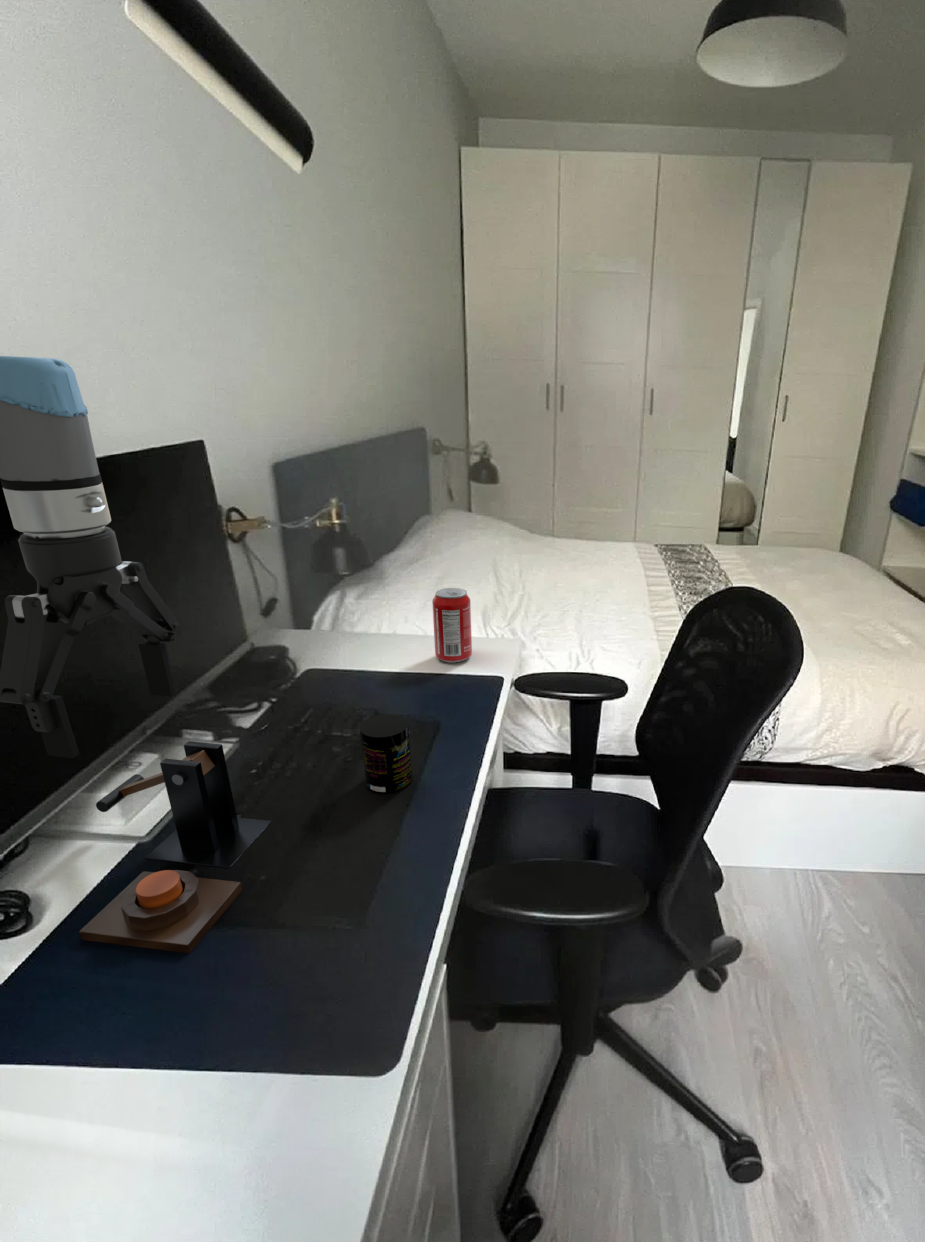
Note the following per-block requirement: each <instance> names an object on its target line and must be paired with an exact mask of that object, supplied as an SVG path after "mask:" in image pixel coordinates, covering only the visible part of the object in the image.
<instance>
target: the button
mask: <svg viewBox="0 0 925 1242" xmlns="http://www.w3.org/2000/svg"><path fill="white" fill-rule="evenodd" d="M172 870H173V869H164V870H159V871H154V872H155V873H153V874H151V875H149V876H147V877H145V878H144V879H142V880H141V881H140V882H139V883H138V885H137V887H136V894H137V898H138V901H139V904H140V906H141V907H143V908H145V909H154V908H158V907H162V906H165V905H167V904H169V903H171V902H172V901H174V900H176V899H177V898H178V897H179V896H180V895H181V893H182V890H183V888H182V884H181V880H180V876H179V874H178V873H177V872H175V871H172Z"/></svg>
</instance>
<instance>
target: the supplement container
mask: <svg viewBox="0 0 925 1242" xmlns="http://www.w3.org/2000/svg"><path fill="white" fill-rule="evenodd" d="M359 734H360V735H359V737H360V738H359V739H360V742H361V743H360V744H361V751H362V762H363V770H364V779H365V786H366V788H367V790H368V791H369V792H371V793H374V794H379V795H388V794H389V795H390V794H395V793H399V792H401V791H403V790H405V789H407V788H408V787H410V785H411V784H412V782H413V781H414V780H413V766H412V765H413V764H412V753H411V751H412V750H411V738H410V734H411V733H410V723H409V720H408V719H407V718H406V717H405V716H403V715H399V714H394V713H385V714H378V715H374V716H371V717H369V718H367V719H365V720H364V721H362V722H361V724H360V725H359Z"/></svg>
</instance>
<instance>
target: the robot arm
mask: <svg viewBox="0 0 925 1242" xmlns="http://www.w3.org/2000/svg"><path fill="white" fill-rule="evenodd" d="M79 386H80V385H79V384H78V379H77V377H76V373H75V371H74V369H73V367H72V366H71V365H70V364H69V363H67V362H65V361H64V360H62V359H59V358H55V357H35V356H31V357H30V356H13V355H12V356H11V355H0V484H1V486H2V490H3V495H4V498H5V502H6V505H7V508H8V509H7V510H8V511H9V515H10V519H11V522H12V523H11V524H12V526H13V529H14V530H16V531H18V532H20V533H21V532H22V534H20V536H19V538H18V539H17V542H18V545H19V548H20V552H21V555H22V558H23V562H24V565H25V568H26V570H27V572H28V573H29V574H30V575H31V576H32V577H33V578H34V579H35V581H36V584H37V585H36V586H37V588H36V593H32V594H27V595H18V594H17V595H16V594H9V595H7V596H6V597H5V598H4V606H5V611H6V616H7V626H6V633H5V639H4V644H3V651H2V652H3V653H2V659H1V665H0V703H8V704H15V705H18V704H19V705H24V706H25V709H26V713H27V715H28V718H29V722H30V725H31V728H32V729H33V730H34V731H35V732H40V734H41V738H42V741H43V744H44V747H45V750H46V754H47V756H50V757H59V758H69V759H74V758H76V757H77V756H79V755H80V752H79V749H78V745H77V742H76V739H75V735H74V733H73V729H72V725H71V722H70V719H69V715H68V711H67V709H66V705H65V702H64V699H63V696H62V695H56V694H54V692H55V690H56V687H57V685H58V682H59V679H60V677H61V673H62V671H63V668H64V666H65V663H66V660H67V657H68V655H69V653H70V650H71V647H72V644H73V642H74V640H75V637H77V636H78V635H80V634H81V632H82V631H83V629H84V627H85V626H89V625H92V624H93V623H94V622H96V621H98V620H99V619H105V618H108V617H112V618H114V620H115V619H116V620H117V621H118V622H120V623H122V624H123V625H124V626H125V627H127V628H128V629H129V630H131V631H132V632H134V633H135V634H136V635H138V636H140V638H142V639H143V640H145V641H142V642H140V643H138V644H137V645H138V649H139V654H140V657H141V661H142V665H143V669H144V673H145V678H146V682H147V686H148V690H149V694H150V696H159V697H169V698H172V697H174V696H176V695H177V692H176V688H175V683H174V678H173V673H172V670H171V669H172V668H171V665H172V657H171V653H170V649H169V643H173V642H174V641H175V640H176V637H177V636H176V633H175V632H177V631H178V630H179V629H180V623H179V621H178V620H177V618H176V617H175V616H174V615H173V613H172V611H171V610H170V608H169V607H168V606H167V604H166V603H165V602H164V600H163V599H162V598H161V596H160V595H159V593H158V592H157V591H156V589H155V588H154V586H153V585H152V584H151V582H150V581H149V580H148V576H147V574H146V571H145V567H144V565H143V563H142V562H139V561H126V560H122V556H121V552H120V548H119V543H118V540H117V535H116V532H115V530H114V529H112V527H109V526H108V525H109V524H110V523H111V522H112V517H111V513H110V509H109V505H108V501H107V500H108V499H107V495H106V492H105V488H104V484H103V480H102V477H101V476H102V475H101V473H100V470H99V465H98V461H97V456H96V452H95V447H94V441H93V438H92V434H91V427H90V423H89V418H88V414H89V411H88V407H87V406H86V405H85V403H84V400H83V396H82V394H81V393H82V392H81V389H80V387H79ZM121 587H122V588H123V590H124V591H125V593H126V594H127V595H128V596H129V598H128V597H127V596H126V595H124V594H123V592H121ZM134 604H135V605H136V606H135V605H134ZM58 621H61V622H63V623H61V622H58Z"/></svg>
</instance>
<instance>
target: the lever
mask: <svg viewBox="0 0 925 1242" xmlns="http://www.w3.org/2000/svg"><path fill="white" fill-rule="evenodd" d="M182 760H186V761H196V762H201V766H202V771H203V775H205V774H206V773H207V772H209V771H210V770H211V769H212V768H213V767H214V766H215V765H214V764H213V763H212V761H211V760H210V758H209V757H208V755H207V754H206V752H205V751H204V750H203V751H200V752H197V753H195V754H192V755H189V756H187V757H186V756H185V757H184V758H182ZM162 784H165V781H164V777H163V773H162V772H160V773H157V774H154V775H152V776H151V775H150V776H148V777H146V778H144V777H143V775H141V774H138V773H136V774H133V775H132V776H131V777H129V778H128V779H126V780H125V781H124V782H122V783H121V784H120V785H118V786H117V787H116V788H114V789H113V790H112V791H110V792H108V793H107V794H106V795H104V797H102V798H101V799H99V800H98V801H97V802H96V803H95V807H96V810H97V811H99V812H102V813H106V812H108V811H110V810H112V808H113V807H115V806H116V805H117V804H119V803H120V802H121V801H122V800H124V799H125V798H127V797H128V796H130V795H133V794H136V793H139V792H142V791H145V790H147V789H150V788H153V787H156V786H158V785H162Z"/></svg>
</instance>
